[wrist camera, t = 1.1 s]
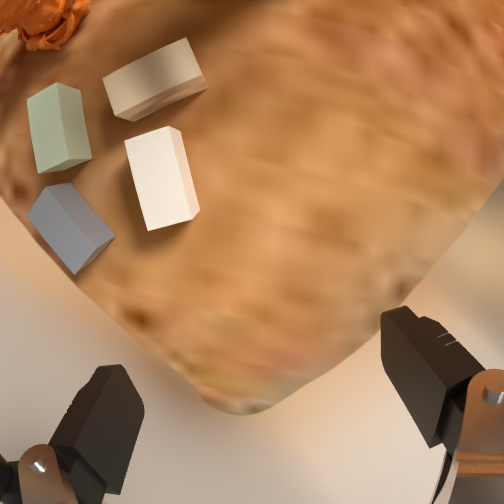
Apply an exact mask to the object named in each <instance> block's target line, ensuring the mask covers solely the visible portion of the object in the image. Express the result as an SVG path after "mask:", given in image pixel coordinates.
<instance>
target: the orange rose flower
mask: <svg viewBox="0 0 504 504" xmlns="http://www.w3.org/2000/svg"><path fill="white" fill-rule="evenodd" d="M91 1H92V0H0V30H1V31H2V32H0V35H2V34H3V33H9V32H11V31H12V30H14V29H16V28H17V29H18V31H19V33H18V40H21V41H23V40H24V41H25V42H27V43H26V48H27V50H28V51H32V50H34V52H35V51H36V49H43V50H48V49H54V50H61V48H60V46H59V45H60V44H61V46H62V44H63V43H65V42H66V41H67V40H68V39H69V38H70V37H71V35H72V32H73V31H74V30H75V29H76V27H77V26H78V24H79V22H80V20H81V17H82V15H84V14H85V15H88V13H90V10H91V9H90V10H88V6H87V5H88V4H87V3H91Z"/></svg>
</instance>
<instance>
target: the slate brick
mask: <svg viewBox="0 0 504 504" xmlns="http://www.w3.org/2000/svg"><path fill="white" fill-rule="evenodd" d="M27 218H28V219H29V220H30V222H31V223H32V224H33V226H34V227H35V228H36V229H37V231H38V232H39V233H40V235H41V236H42V237H43V238H44V240H45V241H46V242H47V243H48V245H49V246H50V247H51V248H52V249H53V251H54V252H55V253H56V254H57V255H58V257H59V258H60V259H61V260H62V261H63V263H64V264H65V265H66V266H67V267H68V268H69V269H70V271H71V272H72V273H73V274H74V275H75V274H76V273H78V272H79V271H80V270H82V269H83V268H84V267H86V266H87V265H88V264H90V263H91V262H92V261H94V260H95V259H96V258H97V257H98V255H99V254H100V253H101V252H102V251H103V250H104V249H105V247H106V246H107V245H108V244H109V243H110V242H111V241H112V240H113V238H114V237H115V236H116V235H115V234H114V233H113V231H112V230H111V229H110V228H109V227H108V226H107V225H106V224H105V222H104V221H103V220H102V219H101V218H100V217H99V216H98V214H97V213H96V212H95V211H94V210H93V209H92V208H91V206H90V205H89V204H88V203H87V202H86V200H85V199H84V198H83V197H82V196H81V195H80V193H79V192H78V191H77V190H76V188H75V187H74V186H73V185H72V184H71V182H68V183H63V184H57V185H52V186H47V187H45V188H44V190H43V191H42V193H41V194H40V196H39V197H38V199H37V200H36V202H35V203H34V205H33V206H32V208H31V210H30V211H29V213H28V214H27Z"/></svg>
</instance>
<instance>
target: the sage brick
mask: <svg viewBox="0 0 504 504" xmlns="http://www.w3.org/2000/svg"><path fill="white" fill-rule="evenodd" d="M27 106H28V115H29V123H30V131H31V138H32V144H33V150H34V156H35V161H36V166H37V171H38V174H41V173H48V172H57V171H64V170H66V169H68V168H71V167H73V166H75V165H78V164H80V163H83V162H85V161H88V160H90V159H92V154H91V149H90V144H89V139H88V134H87V129H86V123H85V118H84V112H83V105H82V99H81V92H80V90H78V89H75V88H72V87H70V86H67V85H64V84H62V83H59V82H56V83H54V84H52V85H51V86H49V87H47V88H45V89H44V90H42V91H40V92H38V93H37V94H35V95H33V96H32V97H30V98H28V99H27Z"/></svg>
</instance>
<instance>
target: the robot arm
mask: <svg viewBox="0 0 504 504" xmlns="http://www.w3.org/2000/svg"><path fill="white" fill-rule="evenodd" d="M381 359H382V363H383V367H384V369H385V372H386V374H387V375H388V377H389V379H390V380H391V382H392V384H393V385H394V387H395V389H396V391H397V392H398V394H399V396H400V397H401V399H402V401H403V402H404V404H405V406H406V407H407V409H408V411H409V413H410V414H411V416H412V418H413V420H414V421H415V423H416V425H417V427H418V428H419V430H420V432H421V434H422V436H423V437H424V439H425V441H426V443H427V445H428V447H429V448H432V447H434V446H436V445H438V444H441V443H443V444H444V446H445V447H446V449H447V450H446V452H445V455H444V459H443V463H442V467H441V470H440V473H439V477H438V480H437V483H436V486H435V489H434V492H433V495H432V499H431V501H430V504H504V370H500V369H489V370H486V369H485V368H484V367H483V366H482V365H481V364H480V363H479V362H478V361H477V360H476V359H475V358H474V357H473V356H472V355H471V354H470V353H469V352H468V351H467V350H466V349H465V348H464V347H463V346H462V345H461V344H460V343H459V342H457V341H456V339H455V338H454V337H453V336H452V335H451V334H449V333H448V331H447V330H446V329H445V328H444V327H443V326H442V325H441V324H440V323H439V322H437V321H434V320H432V319H430V318H428V317H425V316H423V317H420V318H418V317H417V316H416V315H415V314H414V313H413V312H412V311H411V310H410V309H409V308H408V307H407V306H402V307H398V308H395V309H392V310H389V311H385V312H382V314H381ZM143 418H144V405H143V402H142V399H141V397H140V395H139V394H138V392H137V390H136V388H135V387H134V385H133V383H132V381H131V379H130V377H129V376H128V374H127V372H126V370H125V368H124V367H123V366H122V365H120V364H117V365H107V366H99V367H98V368H97V369H96V371H95V372H94V374H93V375H92V377H91V379H90V380H89V382H88V383H87V384H86V385H85V386H84V387H82V388H81V389H80V390H79V391H78V393H77V394H76V396H75V398H74V399H73V401H72V405H70V406H69V408H68V410H67V413H65V415H64V417H63V418H62V420H61V422H60V424H59V426H58V427H57V429H56V431H55V433H54V434H53V436H52V438H51V440H50V442H49V444H48V445H46V444H39V445H35V446H33V447H31V448H29V449H28V450H27V451H25V453H24V454H23V455H22V456H21V458H20V460H19V461H14V462H13V461H12V462H7V461H6V460H5V459H4V458H3V457H2V456H1V454H0V501H1V502H2V503H3V504H107V503H106V501H105V500H104V499H103V497H104V494H105V493H110V494H117V495H120V493H121V489H122V486H123V482H124V479H125V476H126V472H127V469H128V466H129V462H130V459H131V456H132V452H133V449H134V446H135V443H136V440H137V437H138V433H139V430H140V427H141V424H142V421H143Z"/></svg>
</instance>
